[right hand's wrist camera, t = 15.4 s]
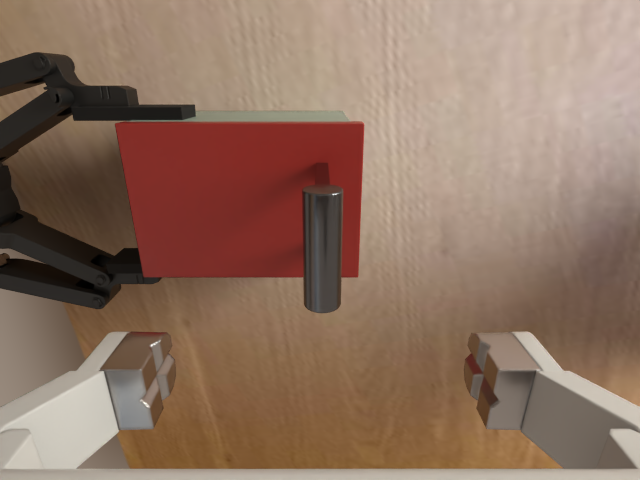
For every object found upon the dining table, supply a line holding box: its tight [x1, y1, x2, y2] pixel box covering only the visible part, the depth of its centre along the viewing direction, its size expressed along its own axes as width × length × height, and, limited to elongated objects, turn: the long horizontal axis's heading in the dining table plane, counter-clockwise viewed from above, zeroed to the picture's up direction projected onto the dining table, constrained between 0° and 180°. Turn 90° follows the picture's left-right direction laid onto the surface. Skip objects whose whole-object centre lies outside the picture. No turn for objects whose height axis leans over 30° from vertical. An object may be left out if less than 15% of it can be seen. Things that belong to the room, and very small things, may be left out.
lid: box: [115, 122, 364, 313], centre depth 21 cm, size 14×10×8 cm
